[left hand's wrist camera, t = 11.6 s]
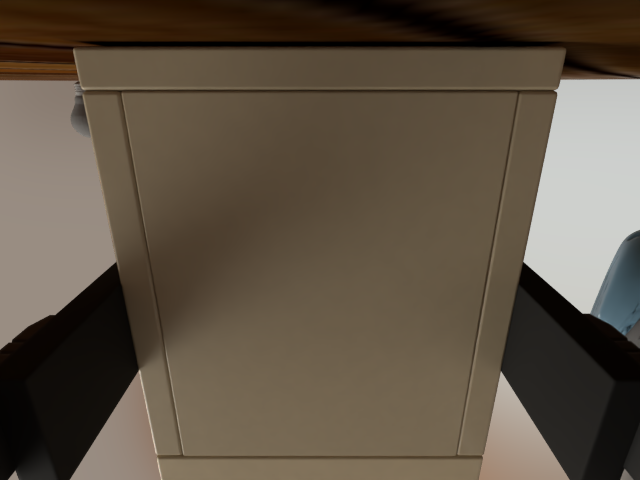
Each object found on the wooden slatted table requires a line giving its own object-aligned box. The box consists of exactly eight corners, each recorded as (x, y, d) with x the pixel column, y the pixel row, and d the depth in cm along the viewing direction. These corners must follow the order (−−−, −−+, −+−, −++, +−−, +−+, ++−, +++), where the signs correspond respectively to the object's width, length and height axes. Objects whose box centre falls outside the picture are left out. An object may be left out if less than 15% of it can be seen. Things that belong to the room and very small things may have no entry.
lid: (390, 243, 29) (383, 341, 32) (249, 243, 29) (256, 341, 32) (484, 458, 12) (451, 617, 15) (155, 457, 12) (188, 617, 15)
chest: (404, 70, 24) (391, 245, 28) (235, 70, 24) (248, 245, 28) (569, 46, 8) (484, 456, 12) (69, 45, 8) (154, 456, 12)
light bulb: (91, 81, 70) (102, 139, 74) (105, 81, 76) (114, 135, 80) (55, 81, 70) (68, 139, 73) (71, 81, 75) (83, 135, 79)
